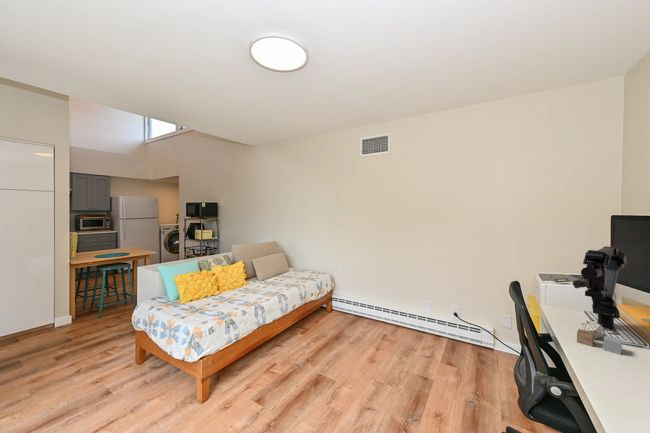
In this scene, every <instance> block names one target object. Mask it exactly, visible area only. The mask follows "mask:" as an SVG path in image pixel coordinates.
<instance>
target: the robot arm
mask: <svg viewBox="0 0 650 433" xmlns="http://www.w3.org/2000/svg"><path fill="white" fill-rule="evenodd" d="M627 263H628V260H627V255H626V254H625V253H624V252H622V251H620V250H619V248H618V247H616V246H603V247H602V248H600V249H598V250H595V249H589V250H587V251H586V253H585V255H584V259H583V262H582V264H583V265H586V267H583V268H581V270H580V274H581V276H582V277H583V278H584V279H576V280H572V282H571V283H572V285H573V287H574V289H580V288H586V290H585V291H584V296H586V297H589V298H591V300H592V305H591V306H592V313H593V314H597V322H596V323H598V324H600V325H601V324H603V325H602V327H603V328H606V329H605V330H610V331H611V330H612V331H615V329H616V325H615V324H614V323H615V319H616V320H617V319H620V318H621V315H620V310H619V308H618V305H617V302H616V300H614V296H615V291H616V286H617V280H618V275H619V272H621V271H623V270H624V268H625V265H627Z"/></svg>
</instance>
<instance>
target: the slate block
mask: <svg viewBox="0 0 650 433" xmlns="http://www.w3.org/2000/svg"><path fill="white" fill-rule="evenodd" d="M606 335H607V334H605V336H603V351H605V352H609V353H613V354H616V355H620V356H621V355H622V349H623V348H622V347H623V344H622V343H623V340H622V339H621V338H617V337H613V336H609V335H607V336H606Z"/></svg>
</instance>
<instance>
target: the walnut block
mask: <svg viewBox="0 0 650 433" xmlns="http://www.w3.org/2000/svg"><path fill="white" fill-rule="evenodd" d="M594 341H595V340H594V332H590V331H586V330H584V329H582V328H578V329H577V331H576V343H578V344H582V345H585V346H588V347H590V348H591V347H593V345H594V343H595V342H594Z"/></svg>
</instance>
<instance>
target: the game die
mask: <svg viewBox="0 0 650 433" xmlns="http://www.w3.org/2000/svg"><path fill="white" fill-rule="evenodd" d="M581 325H583V330H586V331H590V332H594V341H596V339H597V338H600V339H602V337H605V335H606V336H608V335H607V334H606V332H605V331H606V330H607V329H606V328H603V327H602V325H603V324H601V325H600V324H598V323H597V322H596V321H595V319H592V320H591V321H588V320H586V323H583V322H582V323H581Z"/></svg>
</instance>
